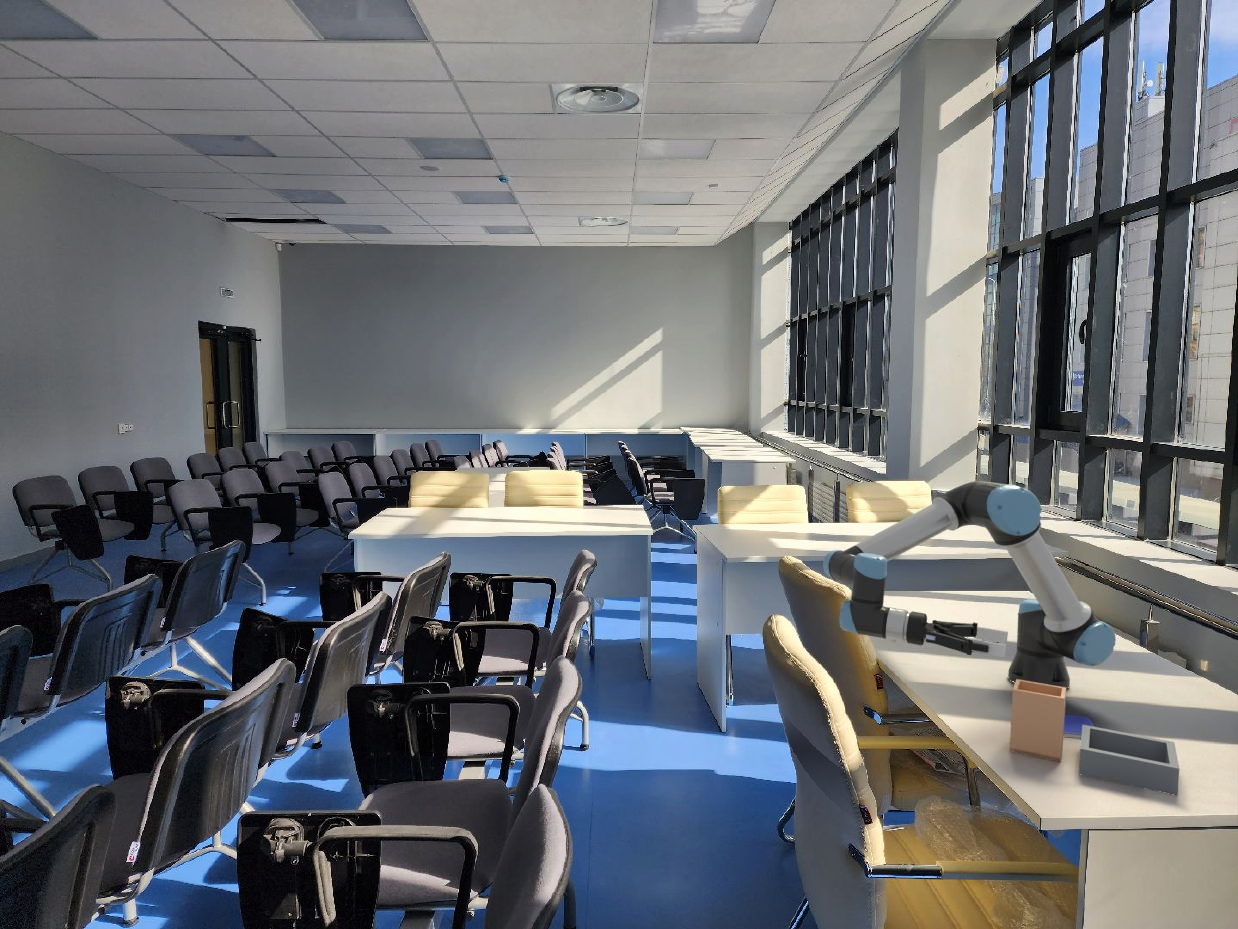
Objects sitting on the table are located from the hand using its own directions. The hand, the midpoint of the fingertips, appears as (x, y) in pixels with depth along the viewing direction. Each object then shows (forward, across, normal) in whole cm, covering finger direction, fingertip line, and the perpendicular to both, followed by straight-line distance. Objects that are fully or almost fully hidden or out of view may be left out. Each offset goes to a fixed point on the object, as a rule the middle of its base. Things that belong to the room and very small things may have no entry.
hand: (1006, 644), depth 184 cm
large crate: (+25, +2, -22) cm, 33 cm away
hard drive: (+16, -18, -22) cm, 33 cm away
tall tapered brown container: (+8, 0, -22) cm, 24 cm away
